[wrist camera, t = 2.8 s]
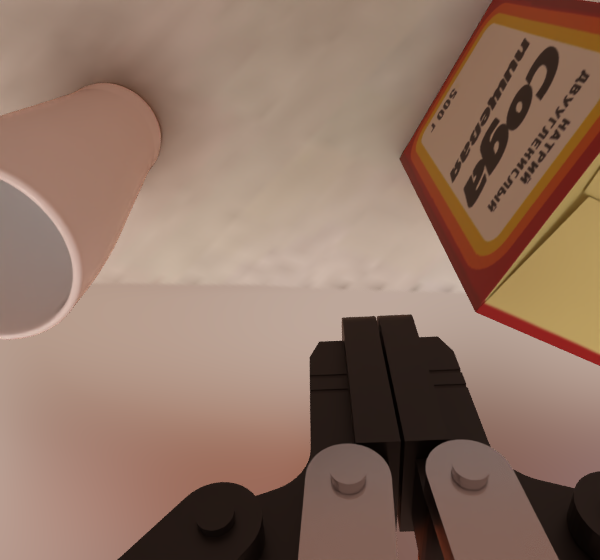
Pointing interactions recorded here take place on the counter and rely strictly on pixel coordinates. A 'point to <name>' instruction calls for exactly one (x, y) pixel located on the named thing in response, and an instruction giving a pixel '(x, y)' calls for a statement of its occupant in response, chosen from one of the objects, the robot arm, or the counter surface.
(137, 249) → the counter surface
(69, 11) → the counter surface
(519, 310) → the baking soda box
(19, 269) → the pinkish beige cup
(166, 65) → the counter surface
